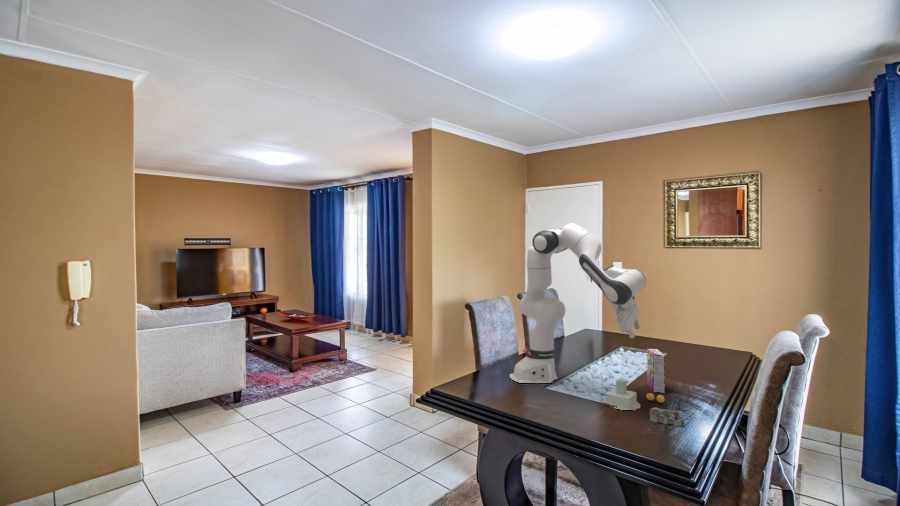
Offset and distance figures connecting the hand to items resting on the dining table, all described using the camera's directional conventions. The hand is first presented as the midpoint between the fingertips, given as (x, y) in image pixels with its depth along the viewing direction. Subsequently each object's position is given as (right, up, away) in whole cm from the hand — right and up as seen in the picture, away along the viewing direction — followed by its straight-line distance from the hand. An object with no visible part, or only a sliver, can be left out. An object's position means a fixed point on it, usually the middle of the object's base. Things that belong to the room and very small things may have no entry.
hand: (635, 332), depth 183 cm
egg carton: (0, -27, -26) cm, 38 cm away
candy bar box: (+12, -26, +8) cm, 30 cm away
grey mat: (-10, -26, -10) cm, 30 cm away
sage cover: (-10, -26, -10) cm, 30 cm away
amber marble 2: (+6, -26, -9) cm, 28 cm away
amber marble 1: (+3, -26, -6) cm, 27 cm away
